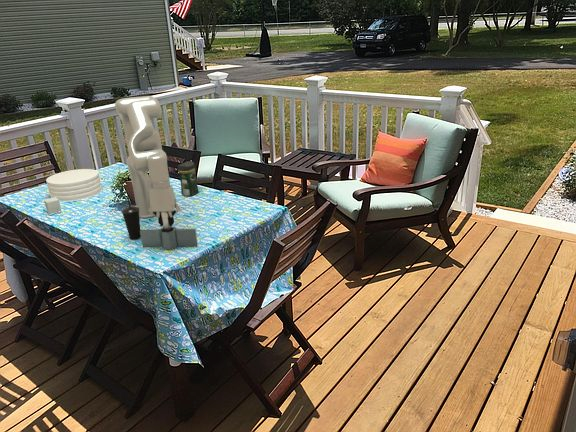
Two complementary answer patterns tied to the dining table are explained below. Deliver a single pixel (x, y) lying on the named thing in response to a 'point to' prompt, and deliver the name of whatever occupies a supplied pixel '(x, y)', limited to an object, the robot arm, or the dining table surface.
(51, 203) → the product box
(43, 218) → the dining table surface
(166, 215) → the hinge pin
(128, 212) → the drinking cup
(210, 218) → the dining table surface
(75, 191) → the plate stack
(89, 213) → the dining table surface
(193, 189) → the coffee jar
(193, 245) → the hinge
